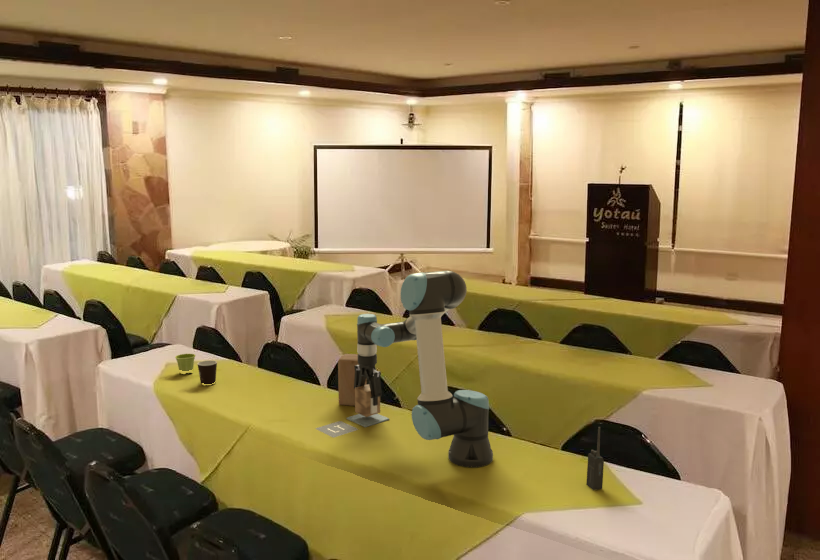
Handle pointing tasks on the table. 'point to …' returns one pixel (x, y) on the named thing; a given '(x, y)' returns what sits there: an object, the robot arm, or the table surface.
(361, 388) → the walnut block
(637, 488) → the table surface
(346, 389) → the wooden block
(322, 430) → the plate
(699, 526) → the table surface
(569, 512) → the table surface
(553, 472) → the table surface
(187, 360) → the plant pot
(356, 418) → the pad
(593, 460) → the walkie-talkie
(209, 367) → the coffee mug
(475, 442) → the robot arm
